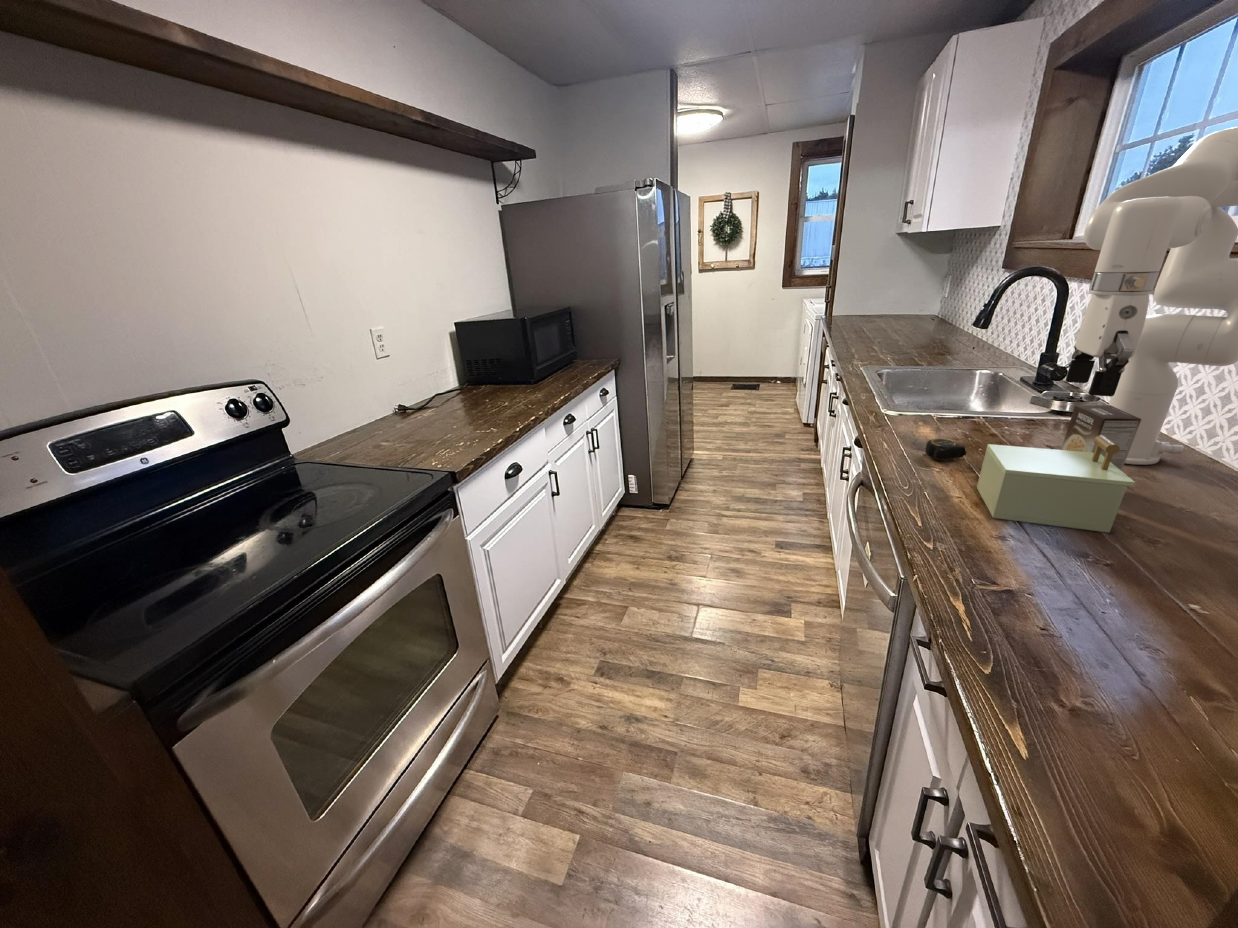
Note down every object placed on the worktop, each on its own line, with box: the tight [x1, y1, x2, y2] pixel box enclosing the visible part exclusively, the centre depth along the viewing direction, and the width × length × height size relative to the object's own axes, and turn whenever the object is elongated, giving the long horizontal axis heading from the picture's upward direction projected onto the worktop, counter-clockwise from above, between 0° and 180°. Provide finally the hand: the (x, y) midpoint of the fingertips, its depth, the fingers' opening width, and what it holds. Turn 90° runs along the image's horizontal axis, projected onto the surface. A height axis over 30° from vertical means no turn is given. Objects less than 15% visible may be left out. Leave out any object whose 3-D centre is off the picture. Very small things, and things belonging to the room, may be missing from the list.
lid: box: [986, 435, 1136, 487], centre depth 90 cm, size 18×14×6 cm
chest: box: [976, 447, 1128, 534], centre depth 93 cm, size 17×14×9 cm
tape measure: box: [924, 438, 967, 461], centre depth 118 cm, size 7×7×4 cm
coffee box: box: [1060, 404, 1142, 472], centre depth 99 cm, size 9×6×16 cm
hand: (1087, 388), depth 86 cm, fingers open, 9 cm apart
